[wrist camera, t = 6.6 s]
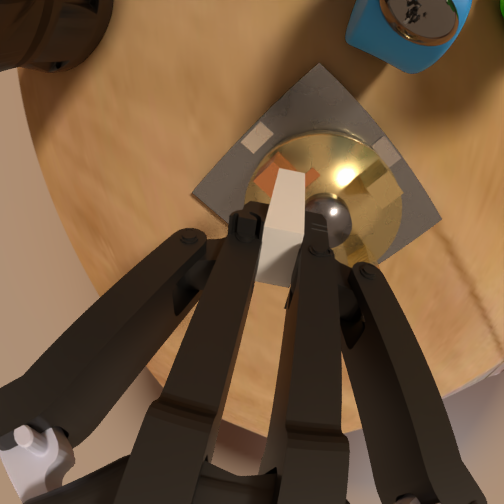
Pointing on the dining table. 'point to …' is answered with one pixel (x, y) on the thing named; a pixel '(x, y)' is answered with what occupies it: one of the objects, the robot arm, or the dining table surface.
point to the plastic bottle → (502, 7)
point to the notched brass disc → (338, 190)
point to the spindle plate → (307, 119)
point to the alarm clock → (406, 30)
